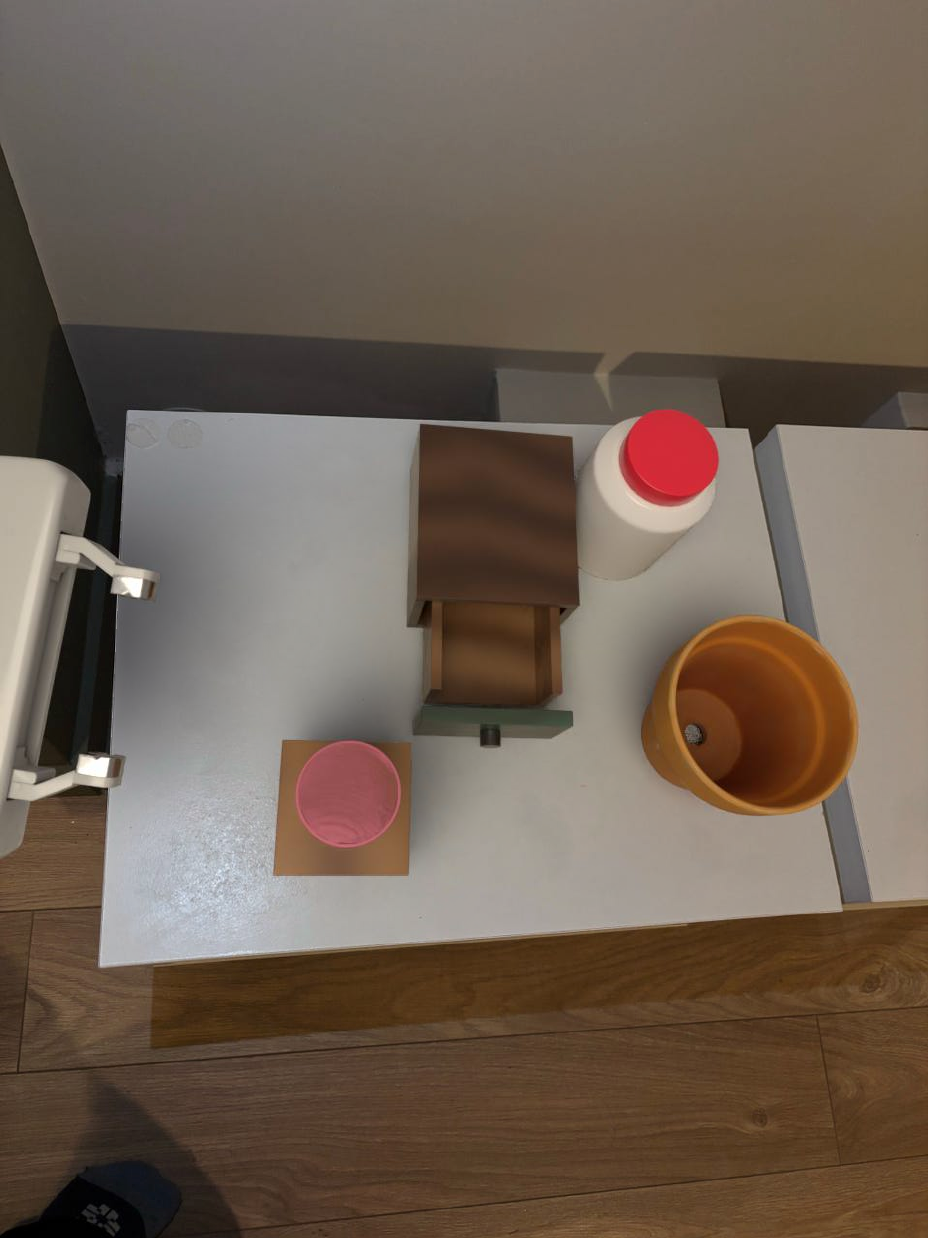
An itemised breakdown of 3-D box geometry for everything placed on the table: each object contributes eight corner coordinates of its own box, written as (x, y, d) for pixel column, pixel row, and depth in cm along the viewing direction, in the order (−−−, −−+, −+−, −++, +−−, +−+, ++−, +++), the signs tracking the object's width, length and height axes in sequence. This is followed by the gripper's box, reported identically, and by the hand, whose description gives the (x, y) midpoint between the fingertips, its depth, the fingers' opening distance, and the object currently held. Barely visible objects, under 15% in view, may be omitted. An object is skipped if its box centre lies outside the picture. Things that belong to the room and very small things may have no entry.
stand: (285, 873, 61) (272, 875, 47) (291, 766, 63) (282, 739, 50) (391, 873, 62) (409, 875, 49) (394, 768, 64) (411, 742, 51)
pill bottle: (541, 488, 73) (590, 403, 60) (641, 468, 76) (710, 382, 62) (575, 591, 71) (634, 526, 57) (677, 567, 73) (757, 500, 60)
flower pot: (628, 836, 65) (697, 829, 53) (593, 667, 69) (651, 624, 57) (784, 810, 68) (884, 798, 56) (743, 649, 72) (828, 604, 60)
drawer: (551, 753, 66) (574, 742, 60) (412, 750, 64) (420, 738, 58) (546, 583, 70) (567, 557, 64) (415, 575, 68) (424, 548, 62)
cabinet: (552, 634, 70) (580, 605, 62) (406, 627, 68) (416, 596, 60) (547, 480, 74) (572, 436, 66) (410, 470, 72) (419, 423, 64)
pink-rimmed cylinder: (298, 851, 48) (291, 847, 38) (303, 762, 49) (298, 738, 40) (386, 851, 49) (400, 848, 39) (388, 764, 50) (402, 741, 41)
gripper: (-60, 453, 44) (192, 493, 45) (-141, 829, 42) (123, 866, 43) (-140, 414, 38) (154, 461, 39) (-240, 853, 36) (71, 897, 37)
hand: (137, 678), depth 41 cm, fingers open, 8 cm apart
